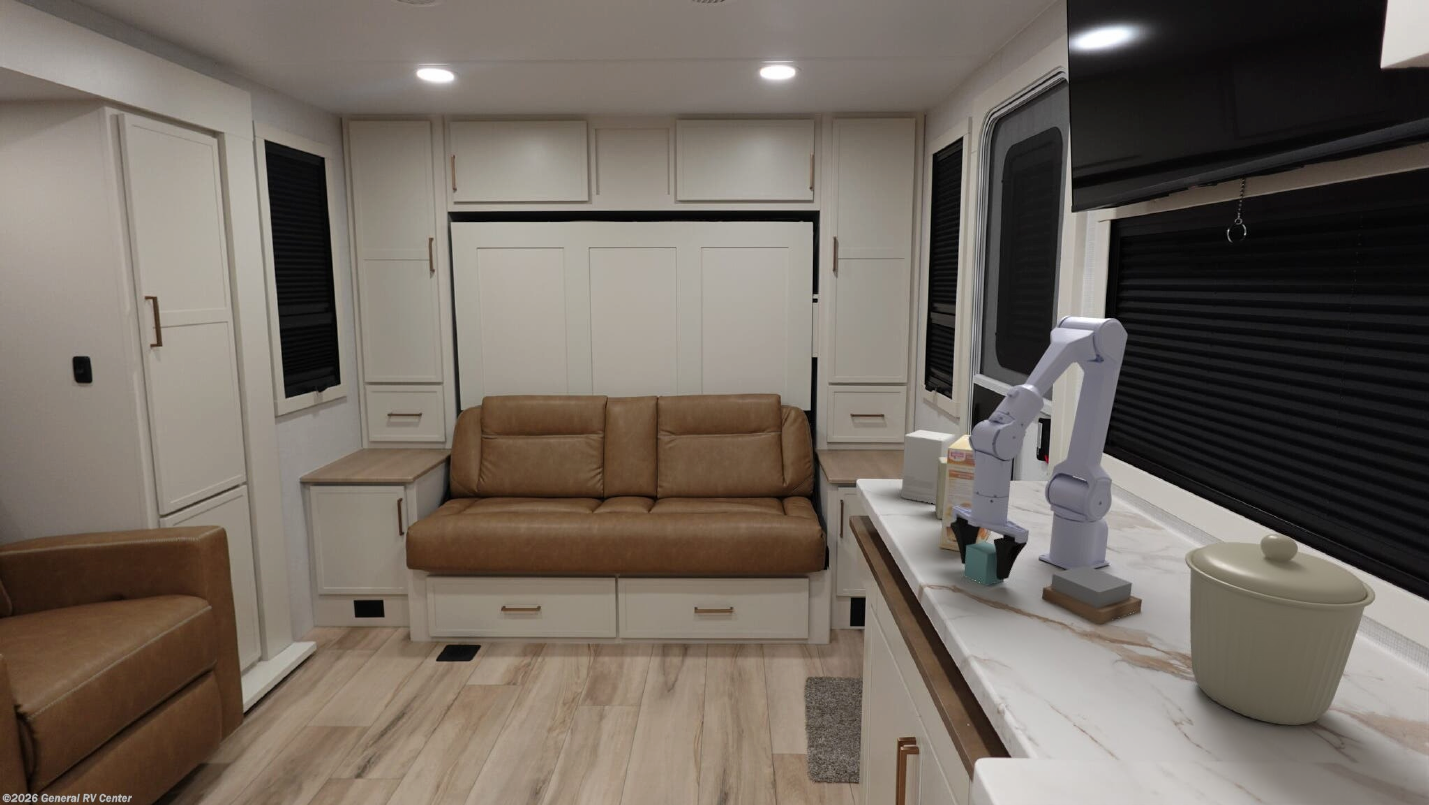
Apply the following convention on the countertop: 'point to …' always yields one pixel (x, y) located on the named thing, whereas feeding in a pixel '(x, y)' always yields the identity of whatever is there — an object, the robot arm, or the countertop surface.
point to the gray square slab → (1091, 586)
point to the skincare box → (940, 486)
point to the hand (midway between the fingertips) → (984, 570)
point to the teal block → (981, 563)
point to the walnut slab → (1089, 611)
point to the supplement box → (923, 463)
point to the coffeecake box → (958, 490)
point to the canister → (1272, 627)
